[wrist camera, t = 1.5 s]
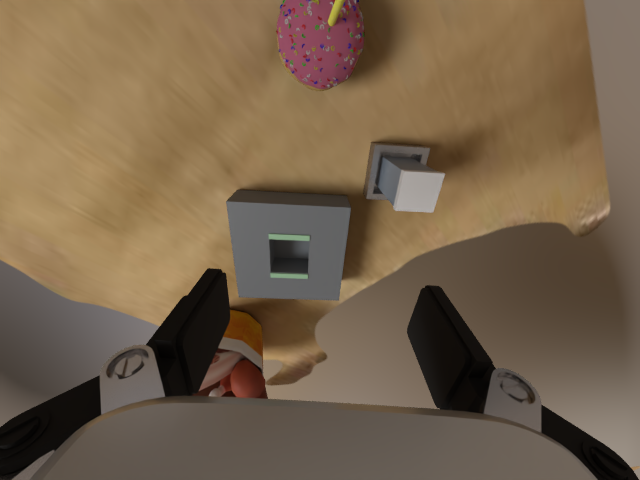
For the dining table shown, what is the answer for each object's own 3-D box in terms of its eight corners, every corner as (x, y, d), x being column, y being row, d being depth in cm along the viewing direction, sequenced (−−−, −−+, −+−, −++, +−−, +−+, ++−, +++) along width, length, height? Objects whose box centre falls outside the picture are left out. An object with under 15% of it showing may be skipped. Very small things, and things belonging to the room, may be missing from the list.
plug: (380, 154, 32) (404, 171, 24) (411, 156, 33) (445, 173, 24) (375, 185, 34) (395, 210, 26) (404, 187, 35) (433, 212, 26)
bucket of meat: (190, 351, 52) (127, 474, 34) (180, 292, 44) (91, 414, 26) (283, 357, 53) (268, 478, 36) (289, 302, 46) (274, 423, 28)
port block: (237, 189, 35) (225, 201, 30) (346, 195, 36) (351, 208, 31) (246, 277, 42) (238, 298, 38) (336, 281, 43) (338, 301, 39)
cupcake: (324, -26, 24) (331, -128, 14) (372, 53, 28) (408, 19, 17) (266, 44, 27) (235, 3, 16) (316, 109, 30) (317, 109, 20)
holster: (371, 142, 32) (375, 144, 30) (422, 145, 32) (430, 148, 30) (363, 193, 35) (366, 198, 33) (410, 196, 36) (416, 201, 34)
